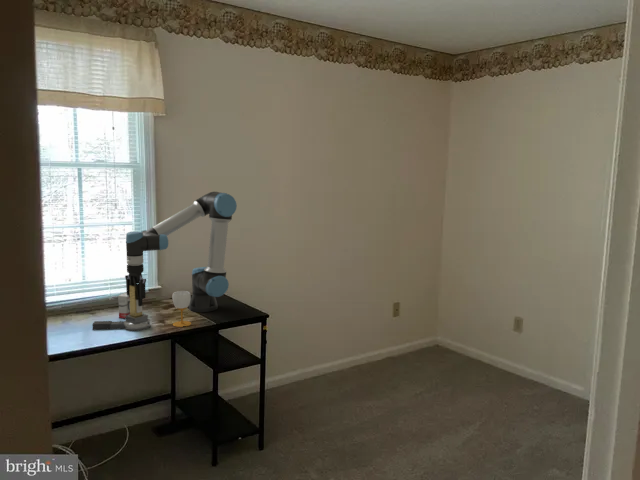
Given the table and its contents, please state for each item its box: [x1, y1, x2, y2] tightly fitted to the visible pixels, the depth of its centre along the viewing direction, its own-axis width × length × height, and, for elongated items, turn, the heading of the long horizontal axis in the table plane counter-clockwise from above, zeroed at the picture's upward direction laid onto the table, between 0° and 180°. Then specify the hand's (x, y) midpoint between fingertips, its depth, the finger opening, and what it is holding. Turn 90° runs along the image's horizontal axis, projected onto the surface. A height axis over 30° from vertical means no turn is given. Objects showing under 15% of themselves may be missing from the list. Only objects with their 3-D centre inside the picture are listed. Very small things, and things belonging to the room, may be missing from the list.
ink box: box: [117, 291, 130, 319], centre depth 278 cm, size 9×5×12 cm, turn 168°
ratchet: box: [91, 313, 151, 332], centre depth 260 cm, size 26×12×6 cm, turn 99°
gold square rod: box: [129, 285, 143, 318], centre depth 259 cm, size 4×4×16 cm
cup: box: [171, 290, 192, 328], centre depth 266 cm, size 9×9×16 cm
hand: (136, 311), depth 260 cm, fingers closed on gold square rod, 4 cm apart
